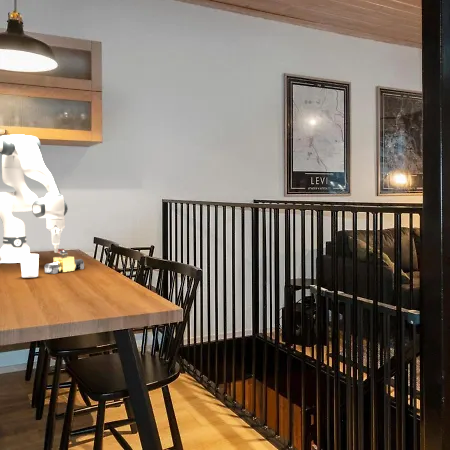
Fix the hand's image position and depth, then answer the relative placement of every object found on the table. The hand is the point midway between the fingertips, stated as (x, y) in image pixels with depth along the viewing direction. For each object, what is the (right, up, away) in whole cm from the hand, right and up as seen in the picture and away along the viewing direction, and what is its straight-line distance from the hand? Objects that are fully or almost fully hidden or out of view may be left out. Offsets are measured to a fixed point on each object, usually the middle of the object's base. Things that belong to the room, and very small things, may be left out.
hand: (56, 252), depth 238 cm
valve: (+6, -9, -6) cm, 12 cm away
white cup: (-4, -10, -23) cm, 25 cm away
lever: (+4, 0, -2) cm, 4 cm away
